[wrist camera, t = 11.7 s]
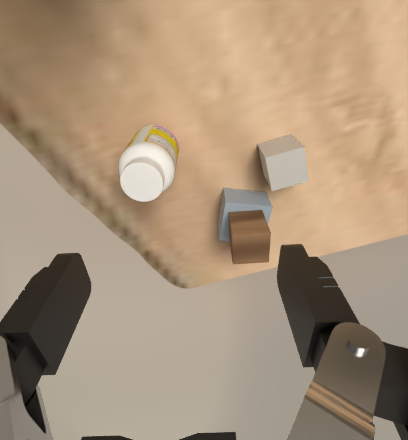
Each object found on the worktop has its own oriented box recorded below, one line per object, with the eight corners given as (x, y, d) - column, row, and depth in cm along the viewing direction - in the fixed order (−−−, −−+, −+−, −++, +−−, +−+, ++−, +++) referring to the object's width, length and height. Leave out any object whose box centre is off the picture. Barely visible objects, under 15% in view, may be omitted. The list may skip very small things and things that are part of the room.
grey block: (257, 143, 41) (265, 158, 36) (291, 133, 40) (304, 146, 35) (263, 174, 43) (271, 191, 38) (295, 165, 43) (308, 181, 38)
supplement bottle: (142, 171, 43) (122, 214, 32) (127, 128, 39) (99, 160, 29) (184, 163, 42) (178, 204, 31) (173, 118, 39) (162, 147, 28)
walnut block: (228, 212, 41) (232, 235, 36) (262, 209, 41) (270, 232, 36) (229, 239, 44) (232, 264, 39) (260, 237, 44) (268, 262, 39)
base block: (223, 187, 45) (225, 202, 40) (265, 191, 45) (272, 206, 41) (217, 223, 48) (218, 240, 44) (256, 227, 49) (262, 244, 45)
